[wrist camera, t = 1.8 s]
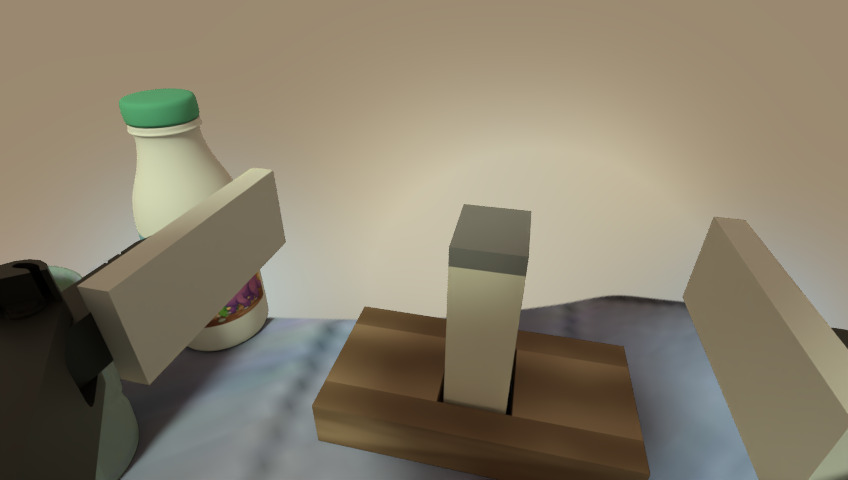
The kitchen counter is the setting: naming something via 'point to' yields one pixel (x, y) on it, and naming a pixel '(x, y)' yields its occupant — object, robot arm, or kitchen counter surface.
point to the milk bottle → (184, 195)
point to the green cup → (109, 410)
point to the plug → (484, 305)
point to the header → (477, 429)
